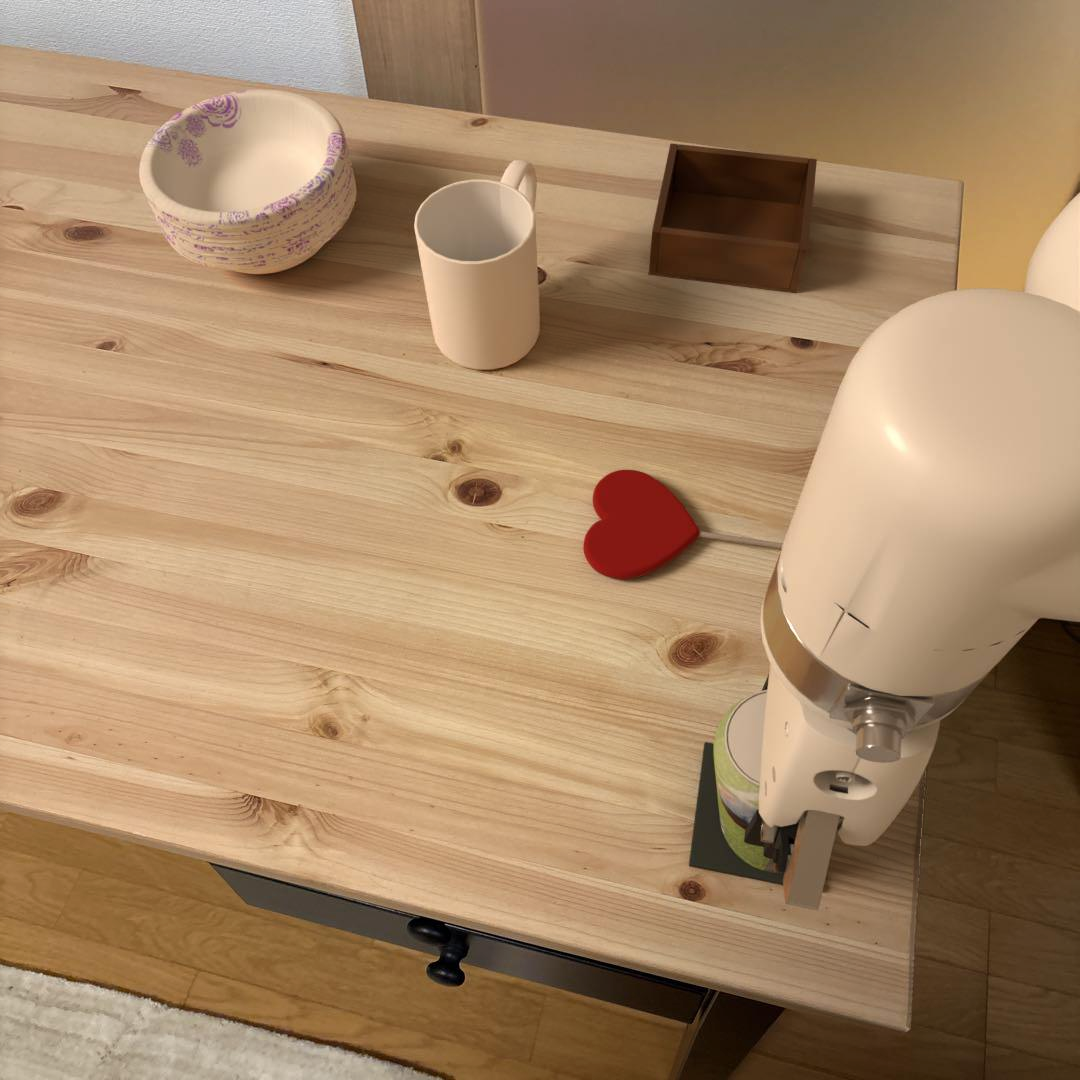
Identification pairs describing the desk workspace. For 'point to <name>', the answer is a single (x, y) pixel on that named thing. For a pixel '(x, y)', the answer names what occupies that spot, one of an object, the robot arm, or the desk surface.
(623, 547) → the lollipop
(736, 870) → the coaster
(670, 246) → the wooden box
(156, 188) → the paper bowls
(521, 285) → the mug
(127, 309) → the desk surface
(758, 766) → the beverage can
